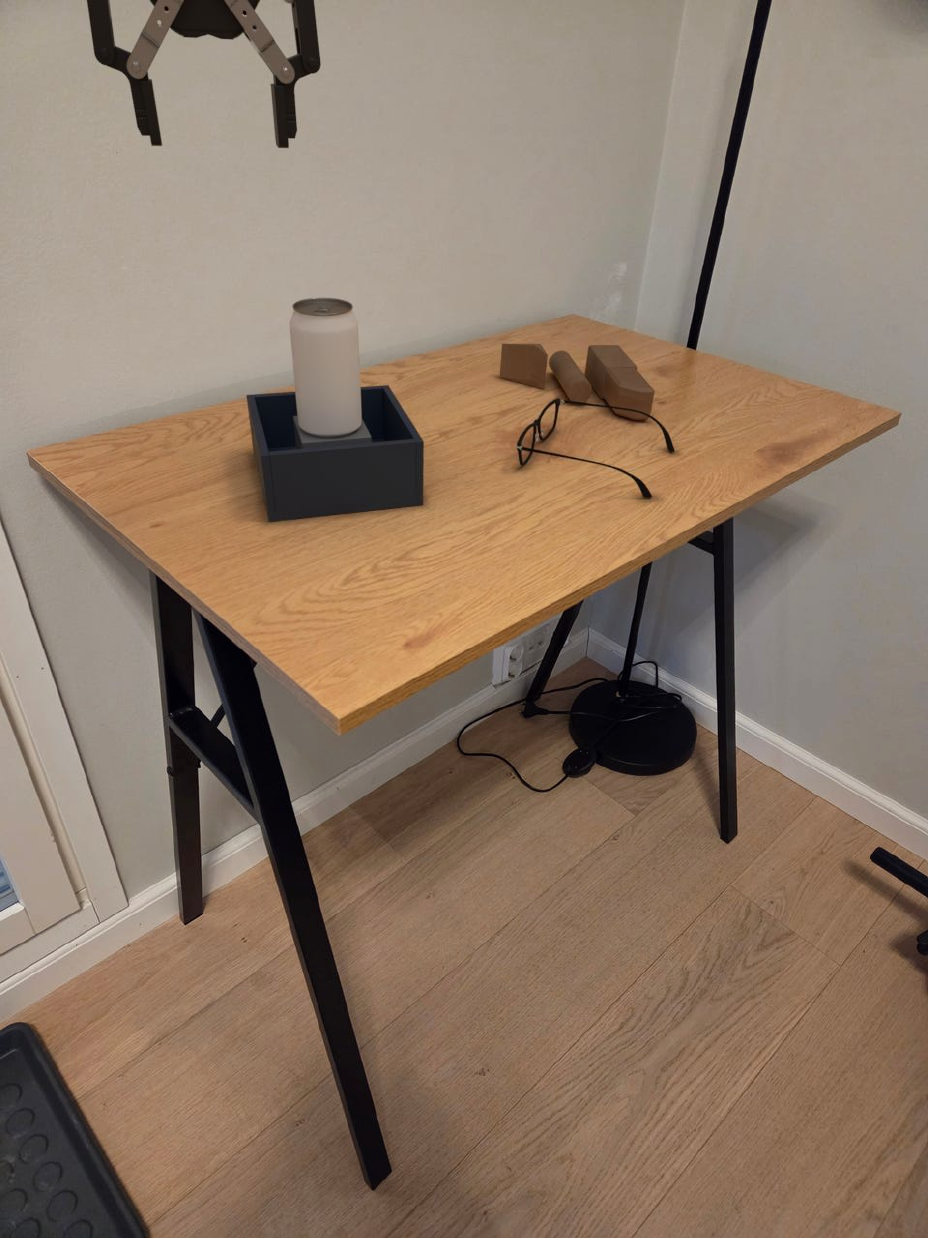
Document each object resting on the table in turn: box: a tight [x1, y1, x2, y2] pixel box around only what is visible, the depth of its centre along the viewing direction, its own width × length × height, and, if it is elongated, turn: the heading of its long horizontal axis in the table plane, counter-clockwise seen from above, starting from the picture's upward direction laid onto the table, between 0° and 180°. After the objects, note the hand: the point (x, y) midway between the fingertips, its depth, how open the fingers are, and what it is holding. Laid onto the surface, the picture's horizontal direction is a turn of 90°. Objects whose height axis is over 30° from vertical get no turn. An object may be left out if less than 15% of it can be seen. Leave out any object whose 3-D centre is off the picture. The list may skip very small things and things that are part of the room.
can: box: [289, 297, 362, 438], centre depth 78 cm, size 6×6×12 cm
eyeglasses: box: [515, 397, 676, 499], centre depth 90 cm, size 16×16×4 cm
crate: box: [246, 384, 425, 523], centre depth 83 cm, size 16×16×7 cm
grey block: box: [293, 416, 372, 449], centre depth 83 cm, size 7×7×5 cm
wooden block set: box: [499, 343, 656, 421], centre depth 105 cm, size 17×6×18 cm
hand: (221, 145), depth 55 cm, fingers open, 8 cm apart
